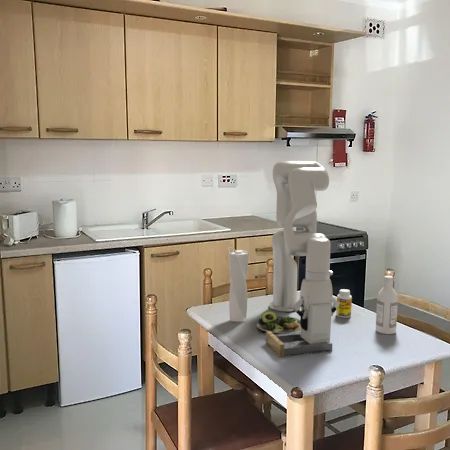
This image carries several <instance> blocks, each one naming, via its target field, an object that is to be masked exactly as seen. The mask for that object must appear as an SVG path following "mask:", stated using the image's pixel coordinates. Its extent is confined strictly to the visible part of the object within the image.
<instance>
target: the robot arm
mask: <svg viewBox="0 0 450 450" xmlns="http://www.w3.org/2000/svg"><path fill="white" fill-rule="evenodd" d="M272 179H273V183H274V185H275V186H274V187H275V189H276V190H275V191H276V207H275V208H276V214H275V215H276V217H275V218H276V219H275V220H276V223H277V225H278V226H279V227H281V228H283V230H279V231H278V230H277V231H276V232H274V234H272V238H271V245H272V247H271V248H272V256H273V277H272V278H273V279H272V280H273V281H272V282H273V284H272V288H273V289H272V291H273V292H272V301H270V302H269V304H268V307H269V308H270V309H271V310H273V311H277V312H285V313H286V312H287V313H288V312H295V313H296V314H297V315H298V316H299V317H300V319H299V320H300V326H301V328H302V329H303V330H305V331H306V330H307V318H306V316H307V315H308V311H309V309H310V306H311V305H321V304H331V317H333V315H334V313H335V312H336V311H337V307H338V306H339V305H340V303H339V302H338V301H337V299H335V298H334V296H333V295H334V294H333V284H332V280H331V279H330V277H331V276H333V274H334V272H333V271H332V270H330V267H331V266H330V265H331V264H330V263H331V240H330V239H328V238H327V236H326V234H324V233H320V232H319V233H318V232H317V226H318V223H317V222H318V219H317V218H318V216H317V215H318V213H317V207H318V202H317V198H316V192H324V191H326V190H328V188H329V184H330V178H329V173H328V171H327V170H326V168H325V167H324V166H323V165H322V164H321V163H319V162H317V161H315V160H313V161H312V160H283V161H278V162H276V163H274V165H273V168H272ZM294 228H303V230H300V229H299V230H298V229H297V230H296V229H295V230H294ZM299 256H302V257H303V256H304V257H305V256H306V257H305V258H306V259H305V278H303V279H302V281H301V286H300V293H299V299H298V300H297V292H298V291H297V289H298V288H297V287H298V264H297V262H296V260H295V259H294V258H293V257H299ZM302 304H303V305H304V306H302ZM301 307H302V310H300V309H301Z"/></svg>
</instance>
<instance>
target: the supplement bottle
mask: <svg viewBox="0 0 450 450" xmlns="http://www.w3.org/2000/svg"><path fill="white" fill-rule="evenodd" d="M336 300H337V301H338V302H339V303H340V305H339V306H338V307H337V308H336V311H335V312H336V316H337V317H339V318H344V319H346V318H347V319H348V318H350V317H351V316H352V301H353V297H352V295H351V291H350V289H345V288H343V289H342V288H341V289H339V293H338V294H337V296H336Z"/></svg>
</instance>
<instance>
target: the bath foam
mask: <svg viewBox="0 0 450 450" xmlns="http://www.w3.org/2000/svg"><path fill="white" fill-rule="evenodd" d="M393 285H394V277H393V276H392V275H385V276H384V277H383V287H382V288H381V289H380V290H379V292H378V295H377V298H376V312H375V313H376V314H375V315H376V316H375V331H376V332H377V333H379V334H382V335H393V334H395V333H396V332H397V322H398V321H397V320H398V306H399V305H398V304H399V300H398V299H399V298H398V295H397V292H396V290H395V288H394V286H393Z"/></svg>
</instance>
